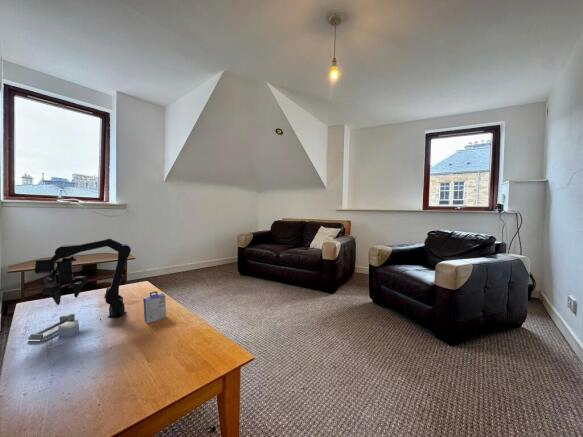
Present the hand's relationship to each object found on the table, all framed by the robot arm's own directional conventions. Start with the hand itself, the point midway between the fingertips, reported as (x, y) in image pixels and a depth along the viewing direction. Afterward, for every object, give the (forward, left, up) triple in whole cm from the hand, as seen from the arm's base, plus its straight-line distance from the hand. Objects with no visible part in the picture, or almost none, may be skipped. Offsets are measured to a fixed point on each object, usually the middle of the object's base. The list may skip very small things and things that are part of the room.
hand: (67, 300), depth 125 cm
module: (-8, +8, -13) cm, 17 cm away
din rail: (+1, +6, -13) cm, 14 cm away
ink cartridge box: (-40, -8, -13) cm, 43 cm away
